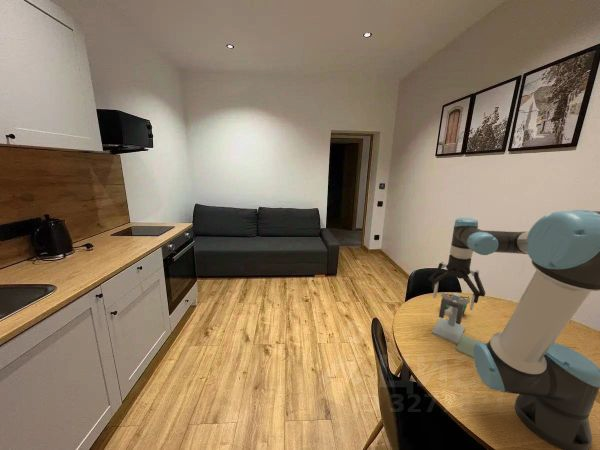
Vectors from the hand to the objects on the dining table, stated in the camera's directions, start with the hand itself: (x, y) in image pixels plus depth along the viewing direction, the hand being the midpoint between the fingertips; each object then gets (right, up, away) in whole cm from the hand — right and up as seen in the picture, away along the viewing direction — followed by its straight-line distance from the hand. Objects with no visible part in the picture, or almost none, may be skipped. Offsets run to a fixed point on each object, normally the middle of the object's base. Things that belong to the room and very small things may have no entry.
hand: (452, 302), depth 102 cm
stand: (+1, -14, +5) cm, 15 cm away
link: (0, -8, +2) cm, 8 cm away
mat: (+5, -17, -6) cm, 19 cm away
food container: (+12, -12, +17) cm, 23 cm away
